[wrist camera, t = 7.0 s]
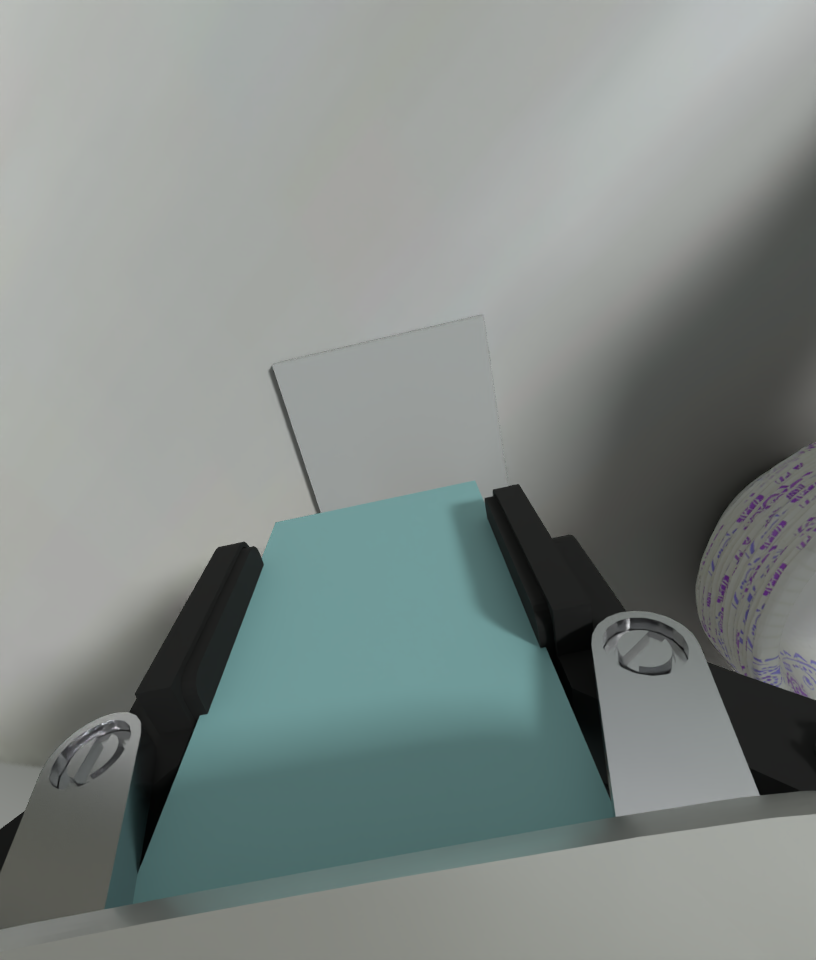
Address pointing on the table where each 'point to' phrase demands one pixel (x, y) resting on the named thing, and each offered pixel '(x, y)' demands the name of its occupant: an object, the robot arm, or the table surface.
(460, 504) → the tile
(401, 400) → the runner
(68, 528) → the table surface
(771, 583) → the paper bowls
